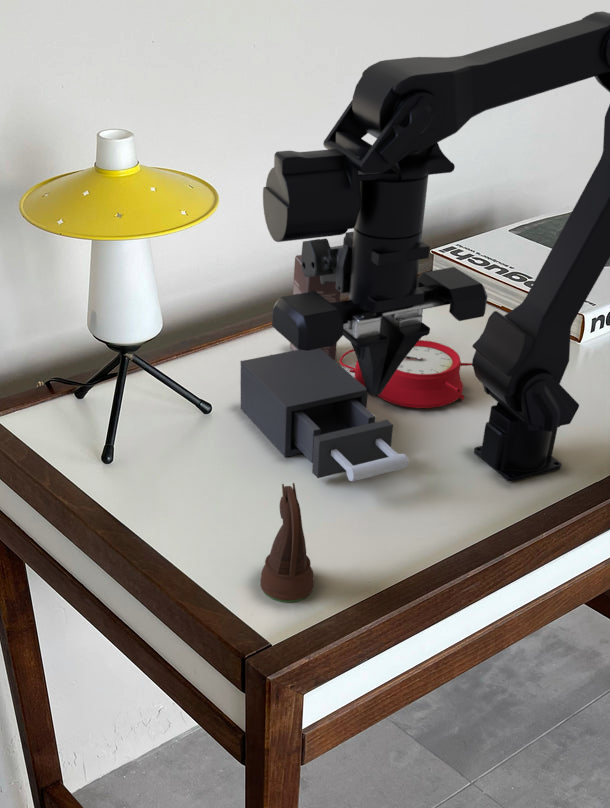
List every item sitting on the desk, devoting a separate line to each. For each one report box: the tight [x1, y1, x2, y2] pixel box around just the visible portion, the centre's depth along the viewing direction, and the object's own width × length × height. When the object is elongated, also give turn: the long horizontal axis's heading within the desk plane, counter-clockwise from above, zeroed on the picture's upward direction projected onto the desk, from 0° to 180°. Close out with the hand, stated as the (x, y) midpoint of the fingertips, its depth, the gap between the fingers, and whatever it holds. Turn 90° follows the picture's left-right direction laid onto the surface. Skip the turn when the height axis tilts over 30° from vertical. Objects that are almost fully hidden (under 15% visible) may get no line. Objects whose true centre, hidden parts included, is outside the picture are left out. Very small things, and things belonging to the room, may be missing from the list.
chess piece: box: [259, 482, 315, 603], centre depth 84 cm, size 5×5×10 cm
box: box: [289, 254, 341, 362], centre depth 120 cm, size 6×4×12 cm
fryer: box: [240, 348, 369, 458], centre depth 109 cm, size 11×9×6 cm
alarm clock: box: [339, 339, 472, 409], centre depth 116 cm, size 10×6×15 cm
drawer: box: [291, 398, 409, 482], centre depth 102 cm, size 15×8×4 cm, turn 23°
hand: (373, 393), depth 93 cm, fingers closed
